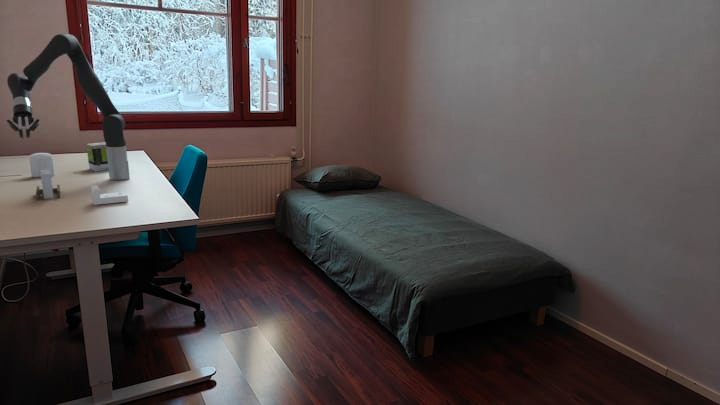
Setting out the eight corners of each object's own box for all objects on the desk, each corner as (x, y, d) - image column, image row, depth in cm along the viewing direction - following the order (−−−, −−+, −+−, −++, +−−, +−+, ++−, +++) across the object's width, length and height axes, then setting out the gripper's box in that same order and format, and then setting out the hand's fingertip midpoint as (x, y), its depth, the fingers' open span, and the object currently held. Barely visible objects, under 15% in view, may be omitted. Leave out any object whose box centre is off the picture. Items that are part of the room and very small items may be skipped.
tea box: (116, 166, 287) (114, 141, 283) (122, 168, 280) (120, 143, 276) (88, 168, 276) (85, 143, 273) (94, 171, 269) (91, 145, 266)
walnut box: (60, 192, 224) (59, 184, 223) (60, 198, 213) (59, 190, 212) (38, 194, 219) (37, 186, 218) (37, 201, 208) (36, 192, 207)
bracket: (94, 207, 202) (92, 189, 200) (92, 203, 208) (90, 185, 206) (128, 203, 209) (126, 186, 207) (125, 199, 215) (124, 183, 213)
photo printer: (54, 174, 259) (51, 151, 256) (55, 176, 256) (52, 152, 253) (31, 176, 254) (28, 153, 250) (31, 177, 250) (28, 154, 247)
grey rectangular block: (53, 193, 220) (50, 169, 218) (53, 198, 212) (50, 173, 209) (44, 194, 219) (41, 170, 216) (44, 199, 210) (40, 174, 208)
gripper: (3, 103, 226) (5, 132, 219) (38, 103, 233) (41, 131, 226) (6, 113, 231) (8, 142, 224) (40, 113, 238) (43, 141, 231)
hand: (25, 137), depth 225 cm, fingers closed
